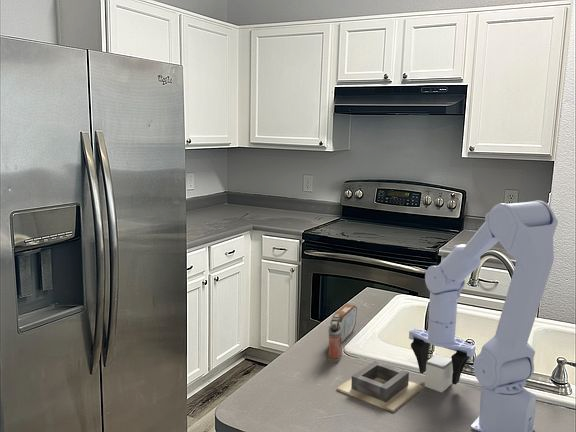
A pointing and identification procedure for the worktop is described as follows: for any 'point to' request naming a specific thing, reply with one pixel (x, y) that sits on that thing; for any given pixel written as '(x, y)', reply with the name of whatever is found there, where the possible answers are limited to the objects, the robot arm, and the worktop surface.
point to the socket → (381, 386)
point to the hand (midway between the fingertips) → (439, 377)
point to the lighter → (335, 340)
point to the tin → (347, 319)
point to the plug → (439, 372)
